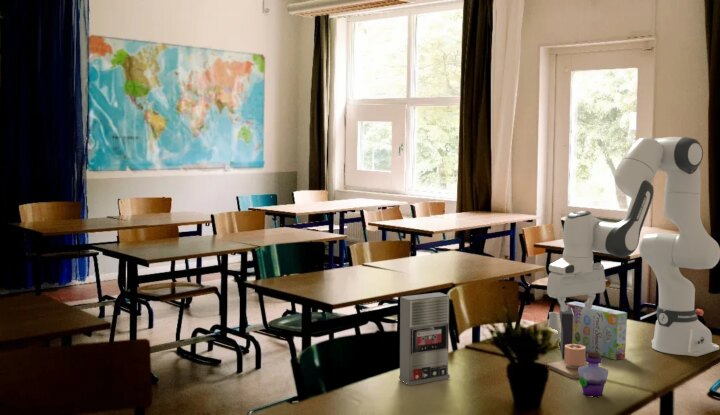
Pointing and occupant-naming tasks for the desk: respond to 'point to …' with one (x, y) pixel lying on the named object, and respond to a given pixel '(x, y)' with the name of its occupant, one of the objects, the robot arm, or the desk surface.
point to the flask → (554, 324)
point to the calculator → (566, 329)
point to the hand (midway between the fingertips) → (576, 309)
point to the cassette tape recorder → (424, 338)
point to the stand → (565, 368)
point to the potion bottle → (592, 375)
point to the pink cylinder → (574, 354)
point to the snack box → (600, 329)
